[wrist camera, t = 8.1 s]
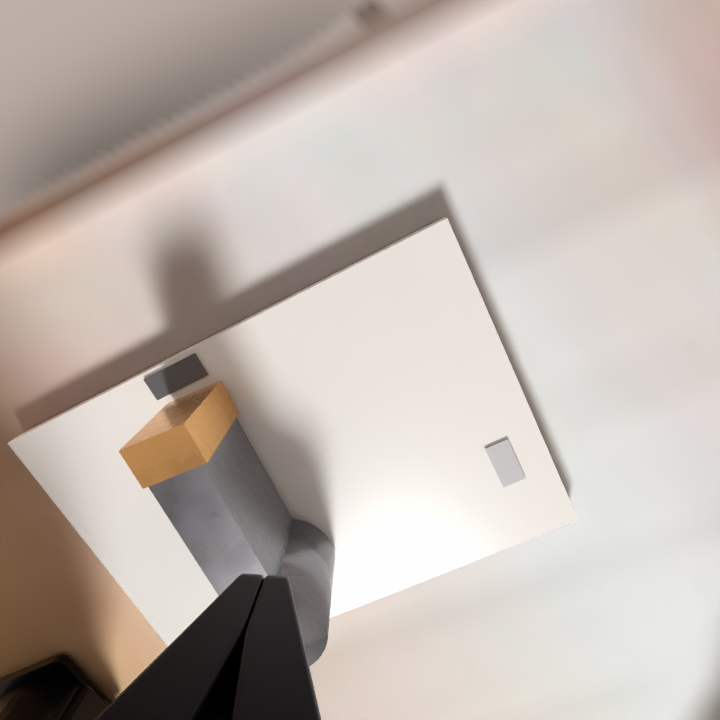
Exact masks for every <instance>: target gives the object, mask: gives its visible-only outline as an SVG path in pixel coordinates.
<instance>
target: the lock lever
mask: <svg viewBox="0 0 720 720" xmlns="http://www.w3.org/2000/svg"><path fill="white" fill-rule="evenodd" d="M238 414H239V412H238V410H237V408H236V406H235V404H234V403H233V401H232V399H231V397H230V395H229V394H228V392H227V390H226V388H225V386H224V385H223V383H222V381H218V382H216V383H214V384H211V385H209V386H207V387H204V388H202V389H200V390H197V391H195V392H193V393H190V394H188V395H185V396H183V397H181V398H178V399H176V400H174V401H171V402H169V403H168V404H167V405H165V406H164V407H163V408H162V409H161V410H160V411H159V412H158V413H157V414H156V415H155V416H154V417H153V418H152V419H151V420H150V421H149V422H148V423H147V424H146V425H145V426H144V427H143V428H142V429H141V430H140V431H139V432H138V433H137V434H136V435H134V436H133V437H132V438H131V439H130V440H129V441H128V442H127V443H126V444H125V445H124V446H123V447H122V448H121V449H120V450H119V453H120V454H121V456H122V457H123V459H124V460H125V462H126V464H127V465H128V467H129V468H130V470H131V471H132V473H133V474H134V476H135V477H136V479H137V480H138V482H139V484H140V485H141V487H142V488H143V489H144V488H147V487H149V489H150V490H151V492H152V493H153V495H154V497H155V498H156V500H157V501H158V503H159V504H160V506H161V507H162V509H163V511H164V512H165V514H166V515H167V517H168V518H169V520H170V521H171V523H172V524H173V526H174V528H175V529H176V531H177V532H178V534H179V535H180V537H181V538H182V540H183V542H184V543H185V545H186V546H187V548H188V549H189V551H190V552H191V554H192V555H193V557H194V559H195V560H196V562H197V563H198V565H199V566H200V568H201V569H202V571H203V573H204V574H205V576H206V577H207V579H208V580H209V582H210V583H211V585H212V586H213V588H214V590H215V591H216V593H217V594H218V596H219V595H220V594H221V593H222V592H223V591H224V590H225V589H226V588H227V587H228V586H229V585H230V584H231V583H232V582H233V581H234V580H235V579H236V578H237V577H238V576H239V575H241V574H261V575H263V576H264V578H265V577H266V576H268V575H277V576H287V577H288V578H289V581H290V585H291V590H292V594H293V598H294V603H295V607H296V612H297V616H298V620H299V625H300V629H301V633H302V638H303V642H304V647H305V651H306V655H307V660H308V664H309V666H310V665H312V664H313V663H314V662H315V661H317V660H318V658H319V657H320V656H321V655H322V653H323V651H324V650H325V647H326V644H327V639H328V629H329V619H330V608H331V598H332V587H333V577H334V566H335V552H334V549H333V546H332V544H331V542H330V540H329V539H328V537H327V536H326V535H325V534H324V533H323V532H322V531H321V530H320V529H319V528H317V527H316V526H314V525H312V524H310V523H308V522H305V521H302V520H298V519H293V518H292V516H291V515H290V513H289V511H288V509H287V507H286V506H285V504H284V502H283V500H282V498H281V497H280V495H279V493H278V491H277V489H276V488H275V486H274V484H273V482H272V480H271V479H270V477H269V475H268V473H267V472H266V470H265V468H264V466H263V464H262V463H261V461H260V459H259V457H258V455H257V454H256V452H255V450H254V448H253V446H252V445H251V443H250V441H249V439H248V437H247V436H246V434H245V432H244V430H243V429H242V427H241V425H240V423H239V421H238V420H237V418H236V417H237V415H238Z"/></svg>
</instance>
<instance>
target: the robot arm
mask: <svg viewBox="0 0 720 720" xmlns="http://www.w3.org/2000/svg"><path fill="white" fill-rule="evenodd" d="M0 720H321V717H320V712H319V708H318V704H317V699H316V695H315V690H314V686H313V682H312V677H311V673H310V668H309V664H308V660H307V655H306V651H305V647H304V642H303V638H302V633H301V629H300V625H299V620H298V616H297V612H296V607H295V603H294V598H293V594H292V590H291V585H290V581H289V578H288V577H287V576H277V575H268V576H266V577H265V578H264V576H263V575H261V574H241V575H239V576H238V577H237V578H236V579H235V580H234V581H233V582H232V583H231V584H230V585H229V586H228V587H227V588H226V589H225V590H224V591H223V592H222V593H221V594H220V595H219V596H218V597H217V598H216V599H215V600H214V601H213V602H212V603H211V604H210V605H209V606H208V607H207V608H206V609H205V610H204V611H203V612H202V613H201V614H200V615H199V616H198V617H197V618H196V619H195V620H194V621H193V622H192V623H191V624H190V625H189V626H188V627H187V628H186V629H185V630H184V631H183V632H182V633H181V634H180V635H179V636H178V637H177V638H176V639H175V640H174V641H173V642H172V643H171V644H170V645H169V646H168V647H167V648H166V649H165V650H164V651H163V652H162V653H161V654H160V655H159V656H158V657H157V658H156V659H155V660H154V661H153V662H152V663H151V664H150V665H149V666H148V667H147V668H146V669H145V670H144V671H143V672H142V673H141V674H140V675H139V676H138V677H137V678H136V679H135V680H134V681H133V682H132V683H131V684H130V685H129V686H128V687H127V688H126V689H125V690H124V691H123V692H122V693H121V694H120V695H119V696H118V697H117V698H116V699H115V700H114V701H113V702H112V703H111V704H110V703H109V702H108V701H107V700H106V699H105V697H104V696H103V695H102V694H101V693H100V692H99V691H98V689H97V688H96V687H95V686H94V685H93V684H92V683H91V681H90V680H89V679H88V678H87V677H86V676H85V674H84V673H83V672H82V671H81V670H80V669H79V668H78V666H77V665H76V664H75V663H74V662H73V661H72V660H71V659H70V658H69V657H68V656H65V655H57V656H55V657H52V658H50V659H47V660H45V661H43V662H40V663H38V664H35V665H33V666H31V667H28V668H26V669H23V670H21V671H19V672H16V673H14V674H12V675H9V676H7V677H4V678H2V679H0Z"/></svg>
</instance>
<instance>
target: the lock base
mask: <svg viewBox="0 0 720 720" xmlns="http://www.w3.org/2000/svg"><path fill="white" fill-rule="evenodd" d="M218 381H222V383H223V385H224V386H225V388H226V390H227V392H228V394H229V395H230V397H231V399H232V401H233V403H234V404H235V406H236V408H237V410H238V412H239V414H238V415H237V417H236V418H237V420H238V421H239V423H240V425H241V427H242V429H243V430H244V432H245V434H246V436H247V437H248V439H249V441H250V443H251V445H252V446H253V448H254V450H255V452H256V454H257V455H258V457H259V459H260V461H261V463H262V464H263V466H264V468H265V470H266V472H267V473H268V475H269V477H270V479H271V480H272V482H273V484H274V486H275V488H276V489H277V491H278V493H279V495H280V497H281V498H282V500H283V502H284V504H285V506H286V507H287V509H288V511H289V513H290V515H291V516H292V518H293V519H298V520H302V521H305V522H308V523H310V524H312V525H314V526H316V527H317V528H319V529H320V530H321V531H322V532H323V533H324V534H325V535H326V536H327V537H328V539H329V540H330V542H331V544H332V546H333V549H334V552H335V566H334V577H333V587H332V598H331V608H330V618H331V617H334V616H336V615H339V614H341V613H344V612H346V611H349V610H351V609H354V608H357V607H359V606H362V605H364V604H367V603H369V602H372V601H374V600H377V599H379V598H382V597H385V596H387V595H390V594H392V593H395V592H397V591H400V590H402V589H405V588H408V587H410V586H413V585H415V584H418V583H420V582H423V581H425V580H428V579H430V578H433V577H436V576H438V575H441V574H443V573H446V572H448V571H451V570H453V569H456V568H459V567H461V566H464V565H466V564H469V563H471V562H474V561H476V560H479V559H481V558H484V557H487V556H489V555H492V554H494V553H497V552H499V551H502V550H504V549H507V548H510V547H512V546H515V545H517V544H520V543H522V542H525V541H527V540H530V539H533V538H535V537H538V536H540V535H543V534H545V533H548V532H550V531H553V530H555V529H558V528H561V527H563V526H566V525H568V524H571V523H573V522H576V521H578V517H577V515H576V513H575V510H574V508H573V506H572V504H571V501H570V499H569V497H568V494H567V492H566V490H565V487H564V485H563V483H562V481H561V478H560V476H559V474H558V471H557V469H556V467H555V464H554V462H553V460H552V458H551V455H550V453H549V451H548V448H547V446H546V444H545V441H544V439H543V437H542V435H541V432H540V430H539V428H538V425H537V423H536V421H535V418H534V416H533V414H532V412H531V409H530V407H529V405H528V402H527V400H526V398H525V395H524V393H523V391H522V389H521V386H520V384H519V382H518V379H517V377H516V375H515V372H514V370H513V368H512V366H511V363H510V361H509V359H508V356H507V354H506V352H505V349H504V347H503V345H502V343H501V340H500V338H499V336H498V333H497V331H496V329H495V326H494V324H493V322H492V319H491V317H490V315H489V313H488V310H487V308H486V306H485V303H484V301H483V299H482V296H481V294H480V292H479V290H478V287H477V285H476V283H475V280H474V278H473V276H472V273H471V271H470V269H469V267H468V264H467V262H466V260H465V257H464V255H463V253H462V250H461V248H460V246H459V244H458V241H457V239H456V237H455V234H454V232H453V230H452V227H451V225H450V223H449V221H448V218H441V219H439V220H437V221H436V222H434V223H432V224H430V225H428V226H426V227H424V228H422V229H420V230H418V231H416V232H414V233H412V234H410V235H408V236H406V237H404V238H402V239H400V240H398V241H396V242H394V243H393V244H391V245H389V246H387V247H385V248H383V249H381V250H379V251H377V252H375V253H373V254H371V255H369V256H367V257H365V258H363V259H361V260H359V261H357V262H355V263H353V264H352V265H350V266H348V267H346V268H344V269H342V270H340V271H338V272H336V273H334V274H332V275H330V276H328V277H326V278H324V279H322V280H320V281H318V282H316V283H314V284H312V285H310V286H309V287H307V288H305V289H303V290H301V291H299V292H297V293H295V294H293V295H291V296H289V297H287V298H285V299H283V300H281V301H279V302H277V303H275V304H273V305H271V306H269V307H267V308H266V309H264V310H262V311H260V312H258V313H256V314H254V315H252V316H250V317H248V318H246V319H244V320H242V321H240V322H238V323H236V324H234V325H232V326H230V327H228V328H226V329H225V330H223V331H221V332H219V333H217V334H215V335H213V336H211V337H209V338H207V339H205V340H203V341H201V342H199V343H197V344H195V345H193V346H191V347H189V348H187V349H185V350H183V351H182V352H180V353H178V354H176V355H174V356H172V357H170V358H168V359H166V360H164V361H162V362H160V363H158V364H156V365H154V366H152V367H150V368H148V369H146V370H144V371H142V372H141V373H139V374H137V375H135V376H133V377H131V378H129V379H127V380H125V381H123V382H121V383H119V384H117V385H115V386H113V387H111V388H109V389H107V390H105V391H103V392H101V393H99V394H98V395H96V396H94V397H92V398H90V399H88V400H86V401H84V402H82V403H80V404H78V405H76V406H74V407H72V408H70V409H68V410H66V411H64V412H62V413H60V414H58V415H56V416H55V417H53V418H51V419H49V420H47V421H45V422H43V423H41V424H39V425H37V426H35V427H33V428H31V429H29V430H27V431H25V432H23V433H22V434H20V435H19V436H17V437H16V438H14V439H12V440H11V441H9V442H8V445H9V446H10V447H11V449H12V450H13V451H14V452H15V454H16V455H17V456H18V457H19V459H20V460H21V461H22V462H23V464H24V465H25V466H26V468H27V469H28V470H29V471H30V473H31V474H32V475H33V476H34V478H35V479H36V480H37V481H38V483H39V484H40V485H41V487H42V488H43V489H44V490H45V492H46V493H47V494H48V495H49V497H50V498H51V499H52V500H53V502H54V503H55V504H56V506H57V507H58V508H59V509H60V511H61V512H62V513H63V514H64V516H65V517H66V518H67V519H68V521H69V522H70V523H71V525H72V526H73V527H74V528H75V530H76V531H77V532H78V533H79V535H80V536H81V537H82V538H83V540H84V541H85V542H86V543H87V545H88V546H89V547H90V549H91V550H92V551H93V552H94V554H95V555H96V556H97V557H98V559H99V560H100V561H101V562H102V564H103V565H104V566H105V568H106V569H107V570H108V571H109V573H110V574H111V575H112V576H113V578H114V579H115V580H116V581H117V583H118V584H119V585H120V587H121V588H122V589H123V590H124V592H125V593H126V594H127V595H128V597H129V598H130V599H131V600H132V602H133V603H134V604H135V606H136V607H137V608H138V609H139V611H140V612H141V613H142V614H143V616H144V617H145V618H146V619H147V621H148V622H149V623H150V624H151V626H152V627H153V628H154V630H155V631H156V632H157V633H158V635H159V636H160V637H161V638H162V640H163V641H164V642H165V643H166V645H167V646H169V645H170V644H171V643H172V642H173V641H174V640H175V639H176V638H177V637H178V636H179V635H180V634H181V633H182V632H183V631H184V630H185V629H186V628H187V627H188V626H189V625H190V624H191V623H192V622H193V621H194V620H195V619H196V618H197V617H198V616H199V615H200V614H201V613H202V612H203V611H204V610H205V609H206V608H207V607H208V606H209V605H210V604H211V603H212V602H213V601H214V600H215V599H216V598H217V597H218V594H217V593H216V591H215V590H214V588H213V586H212V585H211V583H210V582H209V580H208V579H207V577H206V576H205V574H204V573H203V571H202V569H201V568H200V566H199V565H198V563H197V562H196V560H195V559H194V557H193V555H192V554H191V552H190V551H189V549H188V548H187V546H186V545H185V543H184V542H183V540H182V538H181V537H180V535H179V534H178V532H177V531H176V529H175V528H174V526H173V524H172V523H171V521H170V520H169V518H168V517H167V515H166V514H165V512H164V511H163V509H162V507H161V506H160V504H159V503H158V501H157V500H156V498H155V497H154V495H153V493H152V492H151V490H150V489H149V487H147V488H144V489H143V488H142V487H141V485H140V484H139V482H138V480H137V479H136V477H135V476H134V474H133V473H132V471H131V470H130V468H129V467H128V465H127V464H126V462H125V460H124V459H123V457H122V456H121V454H120V453H119V450H120V449H121V448H122V447H123V446H124V445H125V444H126V443H127V442H128V441H129V440H130V439H131V438H132V437H133V436H134V435H136V434H137V433H138V432H139V431H140V430H141V429H142V428H143V427H144V426H145V425H146V424H147V423H148V422H149V421H150V420H151V419H152V418H153V417H154V416H155V415H156V414H157V413H158V412H159V411H160V410H161V409H162V408H163V407H164V406H165V405H167V404H168V403H169V402H171V401H174V400H176V399H178V398H181V397H183V396H185V395H188V394H190V393H193V392H195V391H197V390H200V389H202V388H204V387H207V386H209V385H211V384H214V383H216V382H218Z"/></svg>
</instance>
